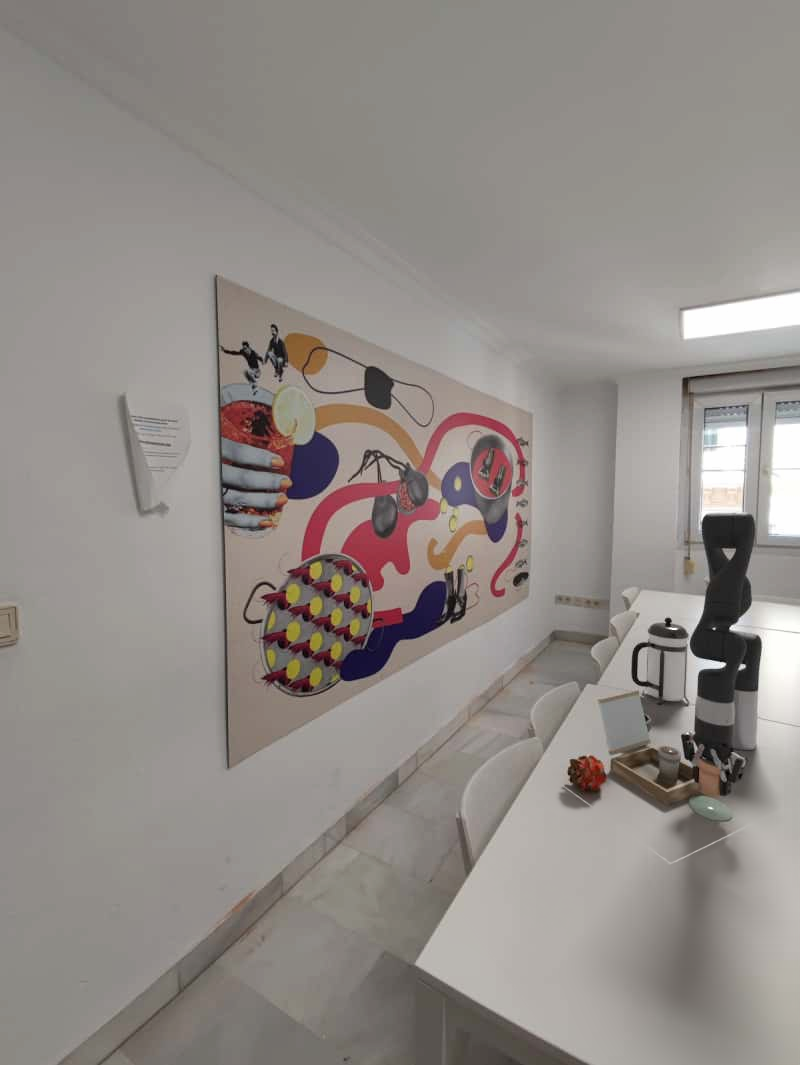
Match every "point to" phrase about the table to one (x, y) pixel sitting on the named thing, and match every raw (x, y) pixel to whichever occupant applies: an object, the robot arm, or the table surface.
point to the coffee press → (664, 662)
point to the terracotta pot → (709, 778)
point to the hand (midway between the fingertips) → (710, 788)
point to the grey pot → (669, 762)
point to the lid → (624, 722)
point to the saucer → (710, 808)
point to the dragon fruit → (587, 773)
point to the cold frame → (654, 776)
